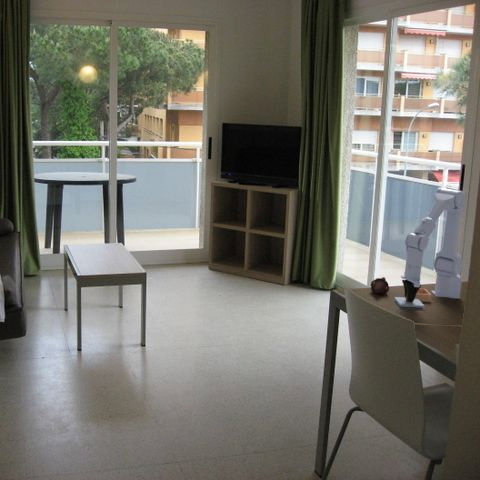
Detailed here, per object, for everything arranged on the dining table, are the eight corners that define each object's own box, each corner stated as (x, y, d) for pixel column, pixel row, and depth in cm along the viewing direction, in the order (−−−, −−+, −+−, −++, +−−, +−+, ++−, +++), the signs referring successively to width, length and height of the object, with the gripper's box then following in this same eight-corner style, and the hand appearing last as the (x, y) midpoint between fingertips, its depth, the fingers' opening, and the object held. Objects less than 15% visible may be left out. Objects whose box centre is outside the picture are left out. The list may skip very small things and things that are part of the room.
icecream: (390, 285, 262) (394, 279, 276) (371, 277, 264) (376, 272, 278) (383, 301, 263) (387, 294, 277) (365, 294, 265) (370, 287, 279)
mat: (417, 302, 263) (417, 301, 263) (425, 311, 254) (425, 309, 254) (392, 301, 263) (392, 299, 263) (398, 309, 253) (398, 308, 253)
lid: (417, 300, 263) (418, 289, 262) (424, 307, 254) (425, 296, 253) (394, 298, 262) (395, 288, 261) (400, 306, 254) (401, 295, 253)
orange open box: (424, 297, 271) (425, 288, 271) (430, 303, 264) (431, 294, 263) (404, 296, 271) (405, 287, 270) (410, 302, 263) (411, 293, 263)
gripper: (398, 259, 262) (394, 293, 265) (408, 269, 248) (403, 305, 251) (416, 260, 262) (411, 294, 265) (427, 271, 248) (422, 306, 251)
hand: (409, 300), depth 258 cm, fingers closed on lid, 2 cm apart
